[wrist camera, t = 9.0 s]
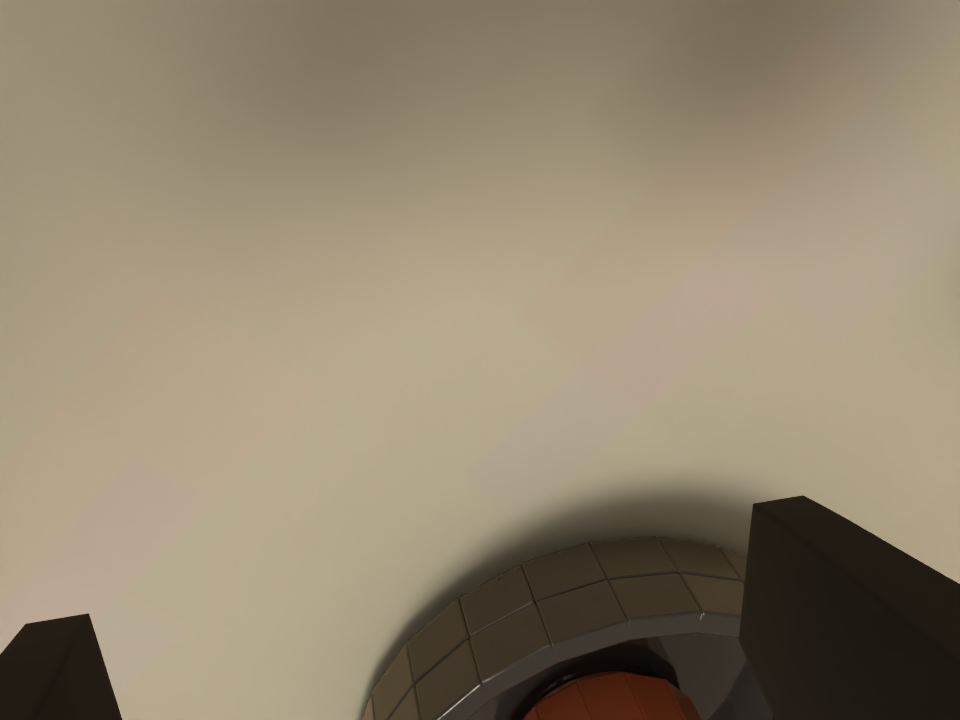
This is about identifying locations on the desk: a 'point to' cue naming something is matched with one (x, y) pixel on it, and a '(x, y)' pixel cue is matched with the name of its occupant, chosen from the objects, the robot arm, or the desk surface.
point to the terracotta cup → (614, 699)
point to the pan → (582, 634)
